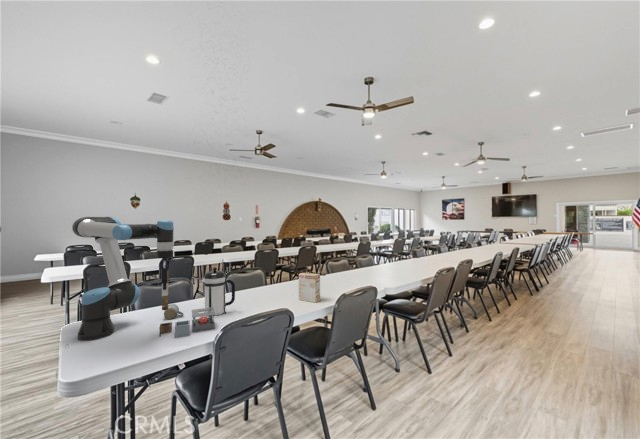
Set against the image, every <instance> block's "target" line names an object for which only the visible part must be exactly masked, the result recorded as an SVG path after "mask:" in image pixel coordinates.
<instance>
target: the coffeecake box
mask: <svg viewBox="0 0 640 439" xmlns="http://www.w3.org/2000/svg"><path fill="white" fill-rule="evenodd" d="M298 300H299V301H304V302H309V303H314V304H315V303H317V302H320V301H321V274H320V273H312V272H301V273H298Z"/></svg>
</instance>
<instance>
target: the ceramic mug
mask: <svg viewBox="0 0 640 439" xmlns="http://www.w3.org/2000/svg"><path fill="white" fill-rule="evenodd" d="M163 311H164V312H163V316H164V318H165V319H167V320H173V319H174V318H176V317H177V318H183V317H184V314H185V313H184V312H183V311H181V310H180V308H179V306H178V305H177V304H175V303H168V309H167V310H163Z"/></svg>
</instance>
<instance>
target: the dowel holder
mask: <svg viewBox="0 0 640 439" xmlns="http://www.w3.org/2000/svg"><path fill="white" fill-rule="evenodd" d="M172 332H173V322H172V321H171V322H170V321H169V322H163V323H160V324H159V337H161V336H162V335H163V334H169V333H172Z"/></svg>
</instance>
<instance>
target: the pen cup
mask: <svg viewBox="0 0 640 439" xmlns="http://www.w3.org/2000/svg"><path fill="white" fill-rule="evenodd" d="M190 323H191V322H190V320H183V321H176V322H175V323H174V338H181V337H187V336H188V337H189V336H190V334H191V331H190V330H191V329H190V327H191V326H190V325H191V324H190Z"/></svg>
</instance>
